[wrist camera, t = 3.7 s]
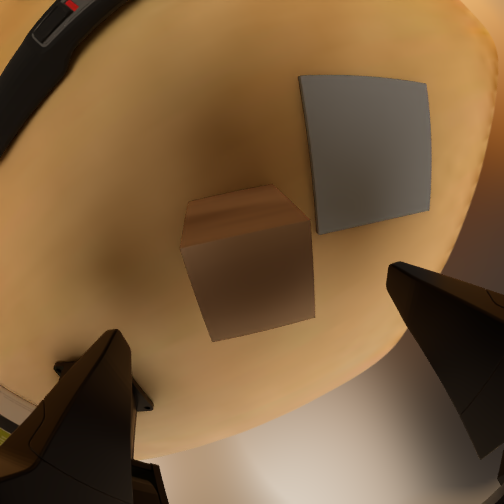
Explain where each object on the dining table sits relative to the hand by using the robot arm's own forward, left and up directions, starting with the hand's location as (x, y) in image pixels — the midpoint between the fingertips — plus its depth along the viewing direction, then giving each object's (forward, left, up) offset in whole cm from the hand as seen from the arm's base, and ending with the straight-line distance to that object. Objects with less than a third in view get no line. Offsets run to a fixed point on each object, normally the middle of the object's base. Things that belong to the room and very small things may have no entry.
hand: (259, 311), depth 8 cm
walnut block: (0, 0, -6) cm, 6 cm away
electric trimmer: (+12, +6, -7) cm, 15 cm away
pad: (+3, -8, -6) cm, 11 cm away
